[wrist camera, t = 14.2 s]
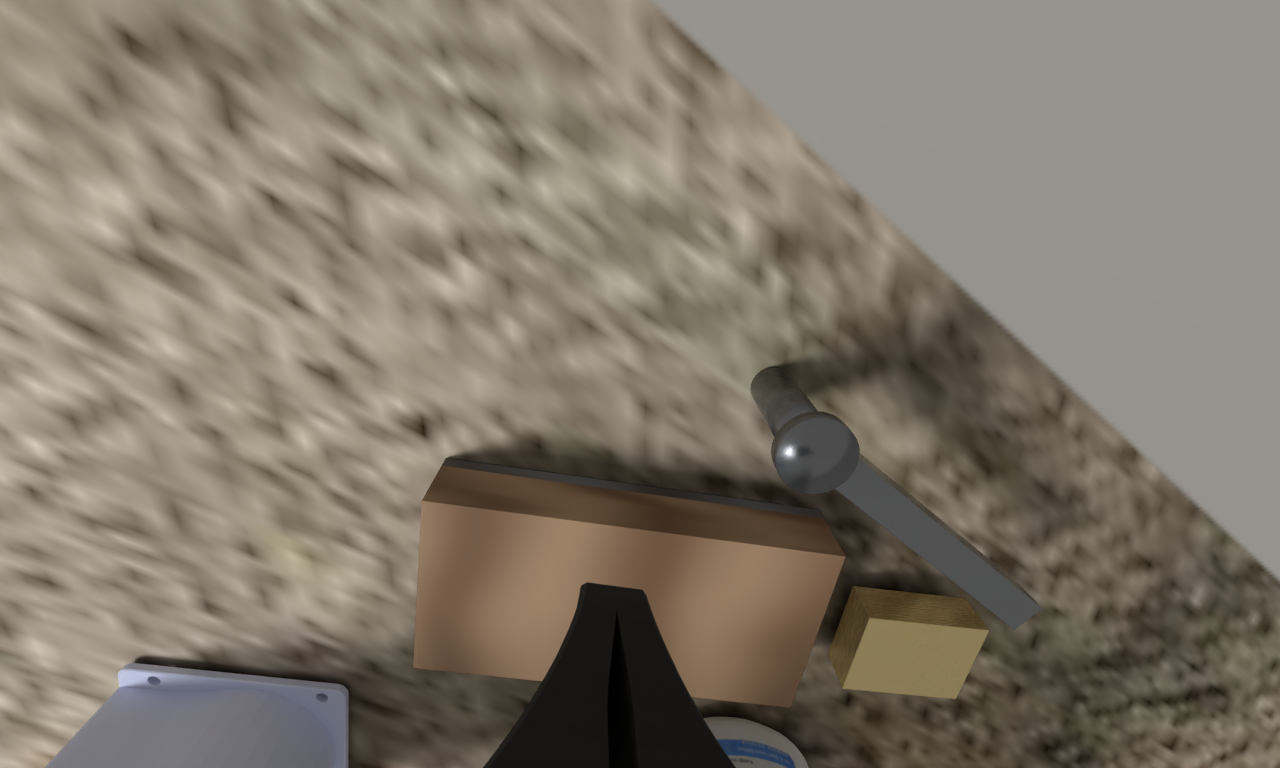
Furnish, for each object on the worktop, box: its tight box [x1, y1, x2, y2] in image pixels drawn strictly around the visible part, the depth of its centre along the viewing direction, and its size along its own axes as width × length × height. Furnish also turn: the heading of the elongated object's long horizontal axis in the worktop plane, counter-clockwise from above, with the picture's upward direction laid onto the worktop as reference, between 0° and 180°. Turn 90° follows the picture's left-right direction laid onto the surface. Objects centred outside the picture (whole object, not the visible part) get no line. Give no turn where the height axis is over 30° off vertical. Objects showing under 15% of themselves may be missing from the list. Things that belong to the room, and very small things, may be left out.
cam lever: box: [751, 367, 1042, 630], centre depth 21 cm, size 2×12×6 cm, turn 51°
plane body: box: [413, 458, 846, 708], centre depth 23 cm, size 15×8×3 cm, turn 80°
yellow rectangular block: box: [828, 586, 989, 699], centre depth 25 cm, size 5×4×2 cm
